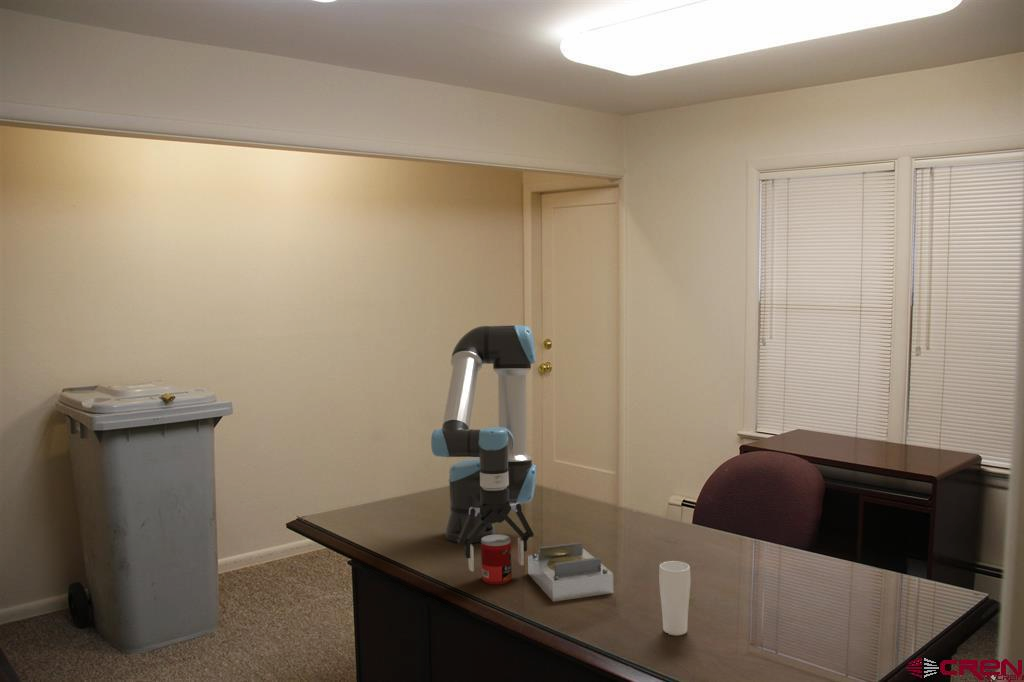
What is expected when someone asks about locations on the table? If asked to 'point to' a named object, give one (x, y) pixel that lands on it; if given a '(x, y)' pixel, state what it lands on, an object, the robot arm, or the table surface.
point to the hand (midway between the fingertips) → (496, 566)
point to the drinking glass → (674, 596)
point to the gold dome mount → (569, 572)
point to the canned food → (496, 559)
